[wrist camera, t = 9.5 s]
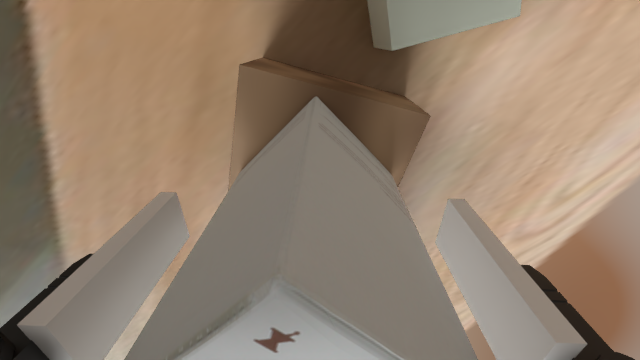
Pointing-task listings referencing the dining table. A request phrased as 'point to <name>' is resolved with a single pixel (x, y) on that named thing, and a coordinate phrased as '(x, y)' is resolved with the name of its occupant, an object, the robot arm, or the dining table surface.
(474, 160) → the dining table surface
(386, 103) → the base block
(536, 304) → the robot arm
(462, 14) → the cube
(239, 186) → the supplement box
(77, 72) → the dining table surface
